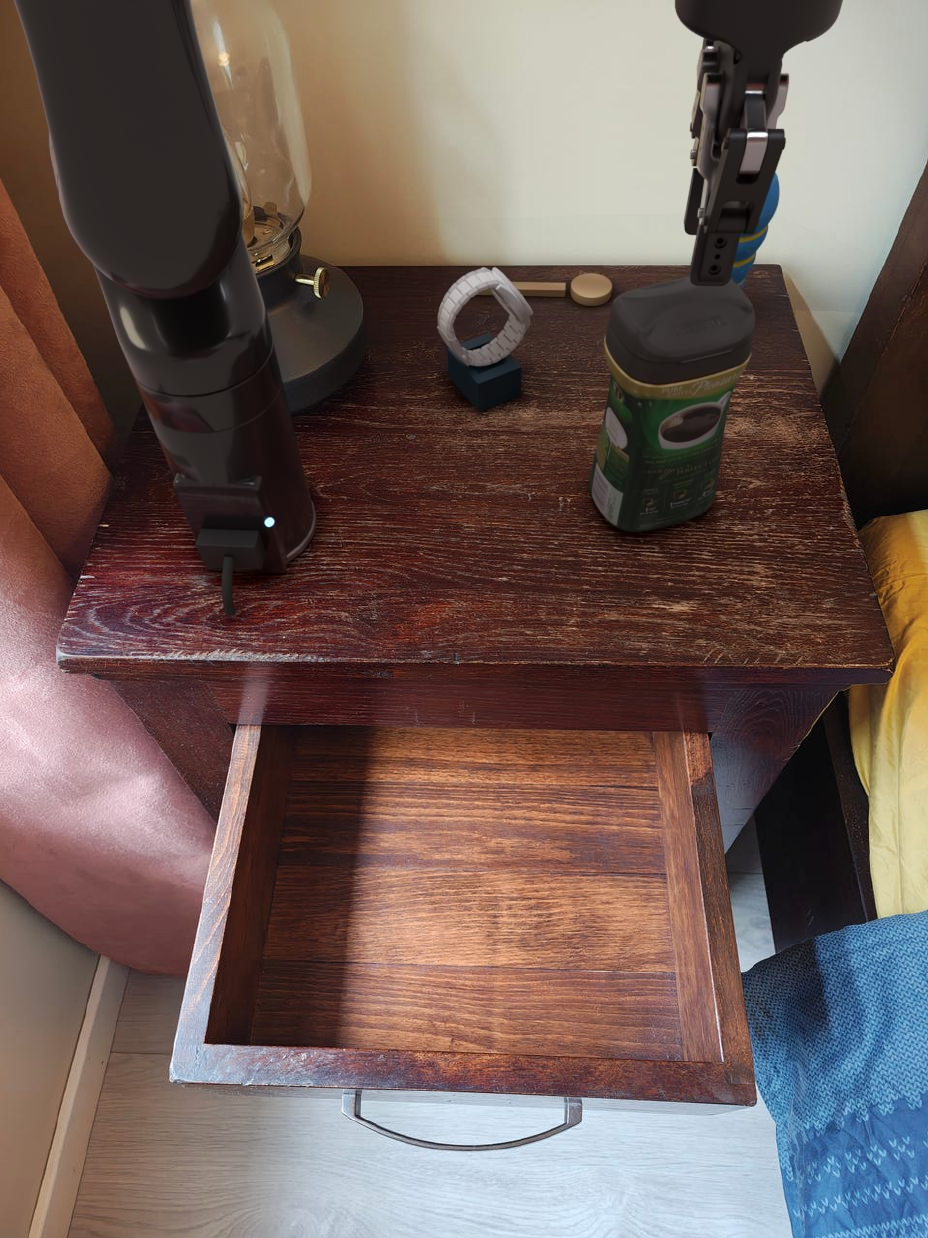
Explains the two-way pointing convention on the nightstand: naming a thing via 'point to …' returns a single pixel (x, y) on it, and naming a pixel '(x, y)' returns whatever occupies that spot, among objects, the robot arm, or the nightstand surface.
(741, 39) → the robot arm
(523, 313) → the watch
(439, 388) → the nightstand surface
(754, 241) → the ornament
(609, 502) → the coffee jar
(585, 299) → the spoon
